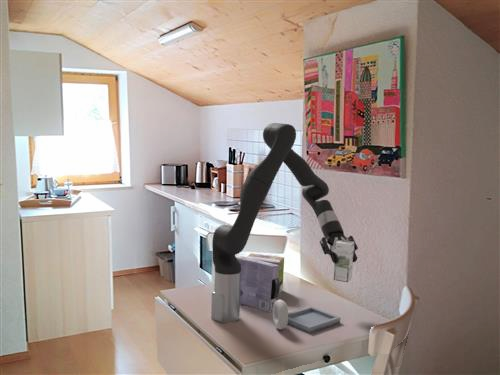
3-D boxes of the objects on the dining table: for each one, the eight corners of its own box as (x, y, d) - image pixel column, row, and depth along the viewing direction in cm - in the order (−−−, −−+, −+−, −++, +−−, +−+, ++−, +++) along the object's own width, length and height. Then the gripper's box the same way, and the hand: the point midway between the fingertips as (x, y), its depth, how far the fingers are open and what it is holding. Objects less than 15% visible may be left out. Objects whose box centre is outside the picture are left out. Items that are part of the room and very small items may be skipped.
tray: (309, 333, 172) (309, 327, 172) (280, 320, 182) (280, 315, 182) (340, 322, 182) (340, 317, 182) (310, 311, 193) (311, 306, 193)
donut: (288, 334, 171) (290, 304, 170) (278, 334, 170) (280, 305, 169) (280, 322, 181) (281, 295, 179) (270, 323, 180) (272, 295, 179)
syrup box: (352, 279, 192) (354, 241, 190) (348, 283, 187) (350, 243, 185) (337, 276, 194) (339, 239, 193) (332, 280, 189) (335, 241, 187)
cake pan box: (279, 309, 194) (281, 264, 192) (272, 313, 189) (274, 266, 187) (239, 298, 205) (240, 255, 203) (231, 301, 201) (232, 257, 199)
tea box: (242, 293, 212) (243, 258, 210) (249, 286, 221) (250, 252, 220) (277, 297, 208) (279, 261, 206) (283, 290, 217) (284, 256, 215)
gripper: (318, 220, 192) (334, 258, 183) (349, 218, 198) (366, 255, 189) (310, 231, 197) (325, 268, 188) (340, 229, 203) (356, 265, 194)
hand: (346, 261), depth 188 cm, fingers closed on syrup box, 8 cm apart
